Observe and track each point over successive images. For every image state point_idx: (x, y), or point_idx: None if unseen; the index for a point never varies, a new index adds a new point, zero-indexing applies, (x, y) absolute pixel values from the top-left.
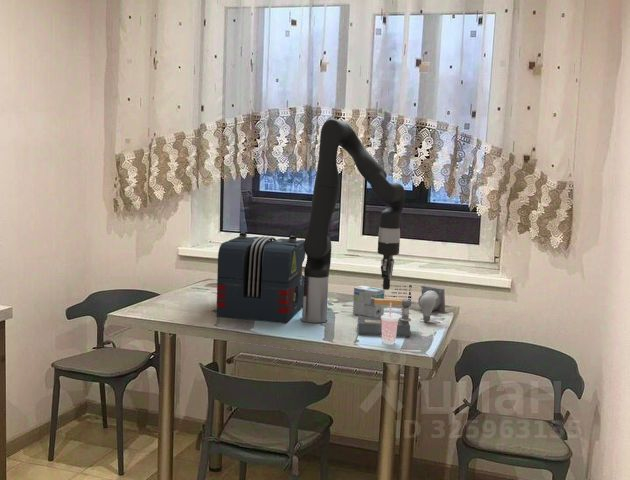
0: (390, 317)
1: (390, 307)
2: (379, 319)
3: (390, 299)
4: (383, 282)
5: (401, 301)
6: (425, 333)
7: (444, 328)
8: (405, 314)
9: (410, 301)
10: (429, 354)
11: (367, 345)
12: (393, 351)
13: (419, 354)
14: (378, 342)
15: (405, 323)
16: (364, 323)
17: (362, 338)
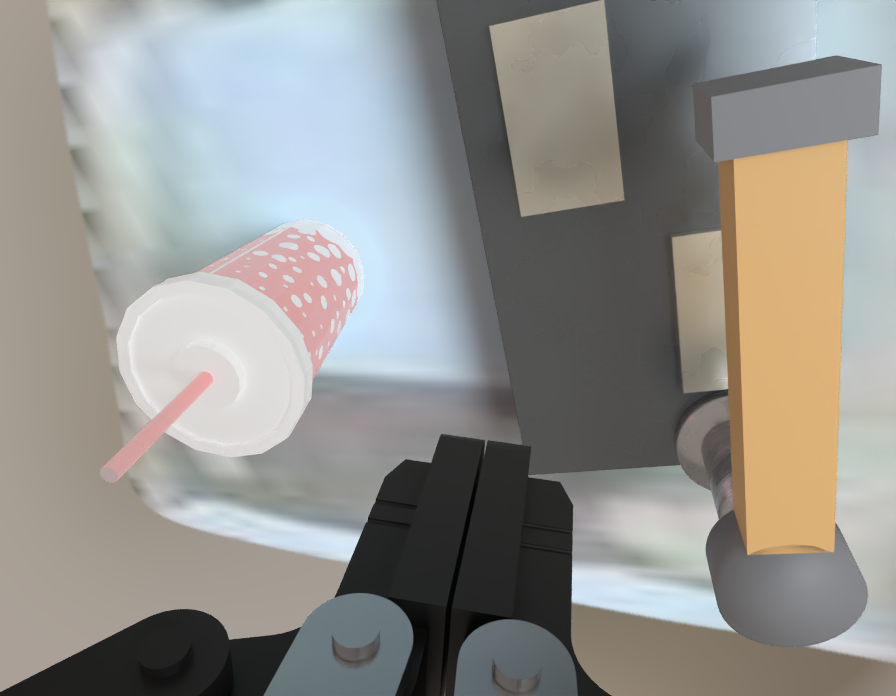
0: (179, 381)
1: (141, 435)
2: (705, 181)
3: (808, 410)
4: (410, 530)
5: (745, 538)
6: (680, 527)
7: (872, 653)
8: (709, 480)
9: (745, 635)
10: (183, 517)
11: (150, 113)
12: (118, 318)
13: (151, 467)
14: (276, 194)
15: (604, 440)
16: (452, 23)
17: (331, 30)
